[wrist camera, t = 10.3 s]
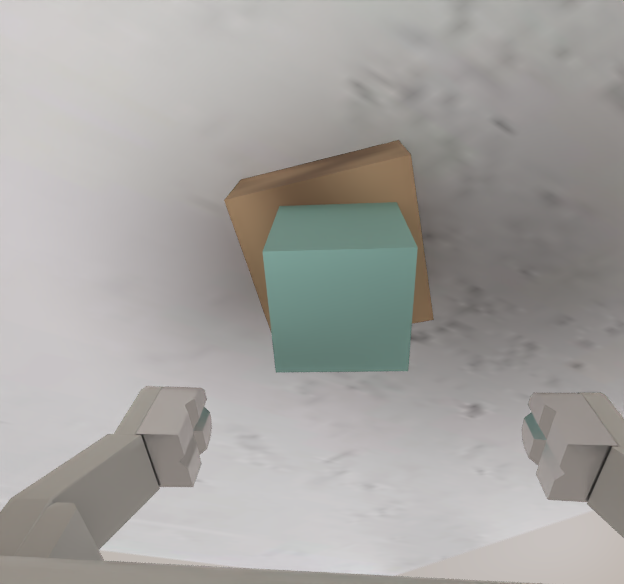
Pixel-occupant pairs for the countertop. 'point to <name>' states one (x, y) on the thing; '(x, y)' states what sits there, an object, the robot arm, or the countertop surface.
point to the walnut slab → (329, 190)
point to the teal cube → (340, 287)
